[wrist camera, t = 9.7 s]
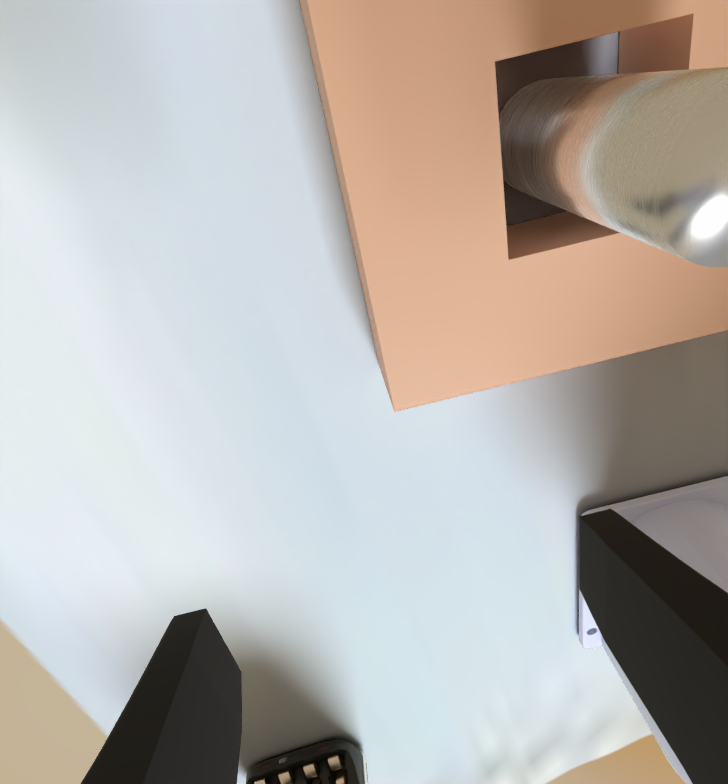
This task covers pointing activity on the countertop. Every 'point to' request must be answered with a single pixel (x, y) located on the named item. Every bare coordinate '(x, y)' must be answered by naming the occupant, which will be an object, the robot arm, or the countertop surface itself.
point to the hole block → (492, 193)
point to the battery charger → (313, 766)
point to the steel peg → (628, 154)
